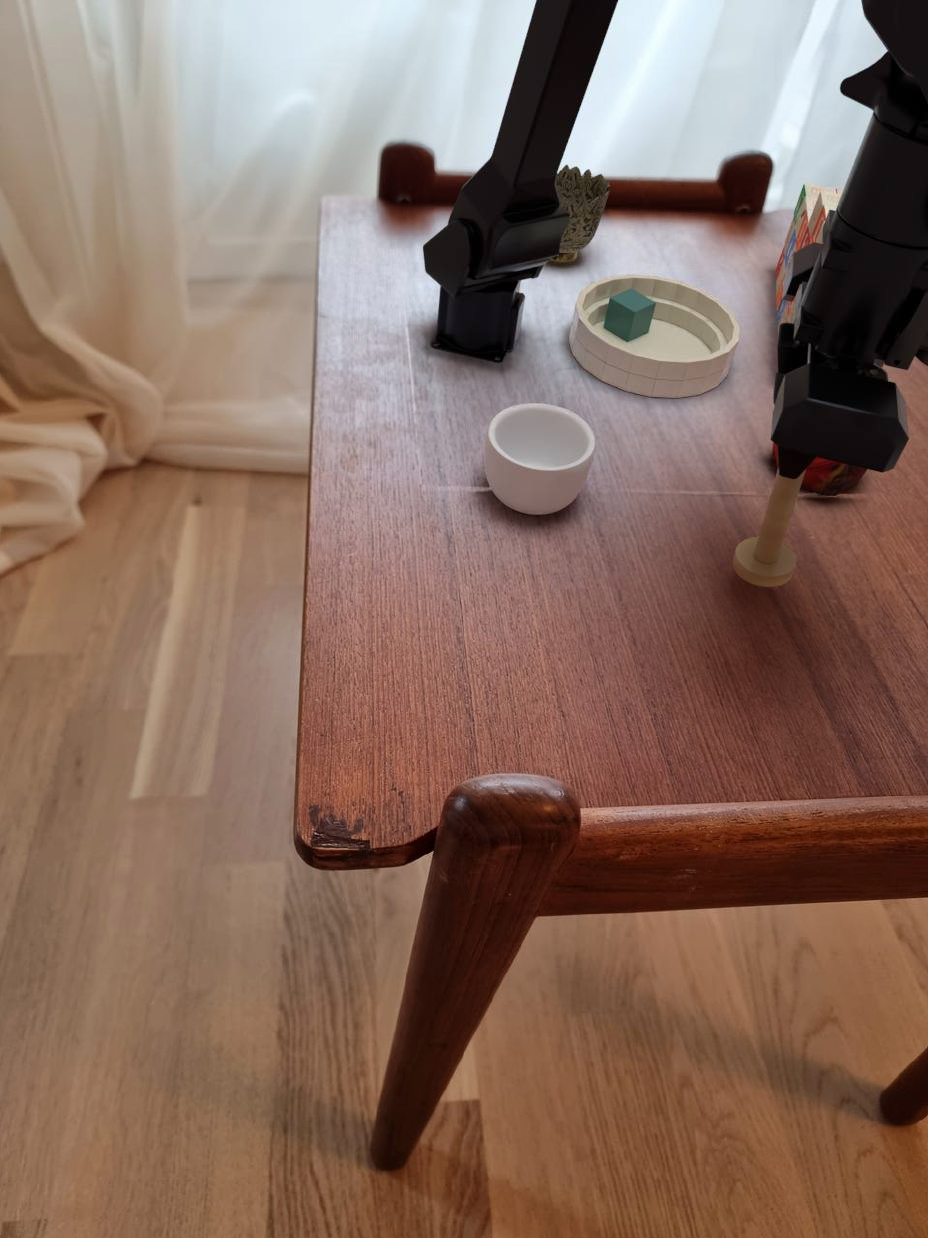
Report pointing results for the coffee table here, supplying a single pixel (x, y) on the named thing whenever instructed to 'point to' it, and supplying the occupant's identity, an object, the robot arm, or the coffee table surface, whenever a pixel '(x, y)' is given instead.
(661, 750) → the coffee table surface
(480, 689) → the coffee table surface
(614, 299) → the block
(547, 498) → the teacup
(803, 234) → the stack of blocks
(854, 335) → the robot arm
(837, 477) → the red clay folk toy
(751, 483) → the coffee table surface
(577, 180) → the cup
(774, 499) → the tan rod with disc
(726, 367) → the bowl
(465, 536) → the coffee table surface
